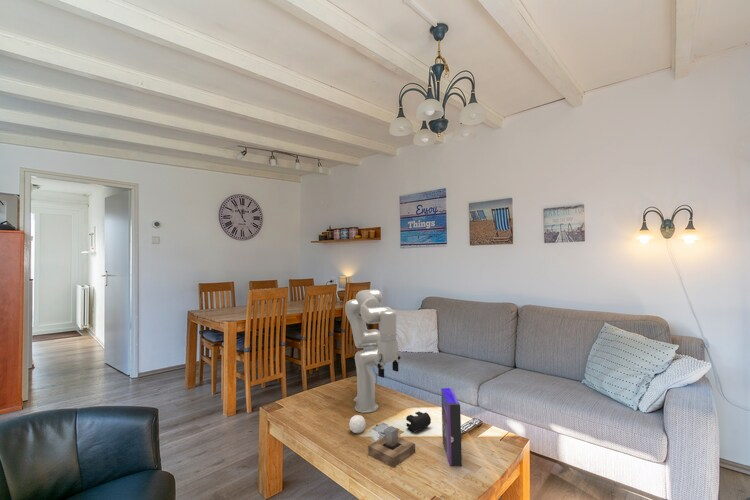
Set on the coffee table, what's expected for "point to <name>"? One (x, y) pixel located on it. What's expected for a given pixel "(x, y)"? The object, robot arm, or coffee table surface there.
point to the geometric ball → (357, 424)
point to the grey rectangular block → (391, 437)
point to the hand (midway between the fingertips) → (388, 373)
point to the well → (391, 451)
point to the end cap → (418, 421)
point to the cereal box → (451, 427)
